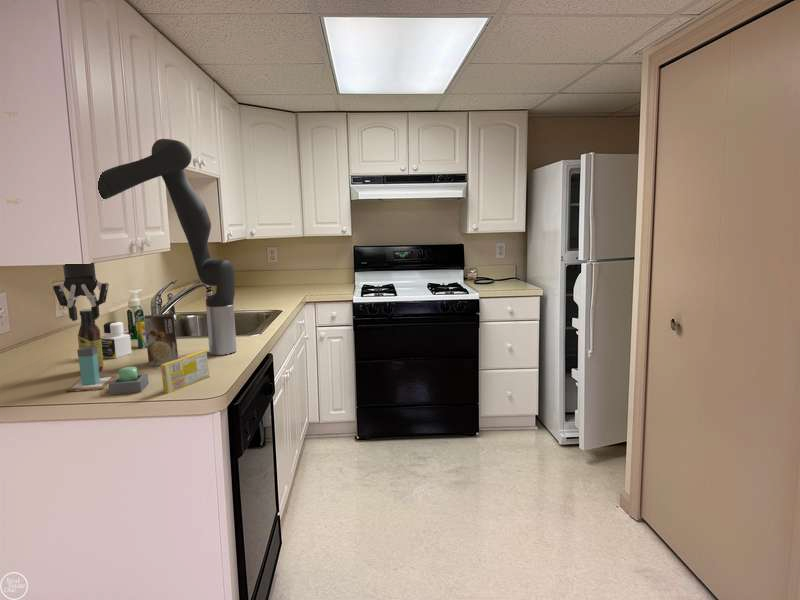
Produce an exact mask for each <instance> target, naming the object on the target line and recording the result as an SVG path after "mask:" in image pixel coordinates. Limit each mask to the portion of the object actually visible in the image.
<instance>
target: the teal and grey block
mask: <svg viewBox="0 0 800 600" xmlns="http://www.w3.org/2000/svg"><path fill="white" fill-rule="evenodd" d="M77 357H78V362H79V363H78V365H79V373H80V379H81V383H82V385H94V384H97V383H98V382H99V381H100V376H101V375H100V371H99V367H98V358H97V346H88V347H81V348H80V349H79V348H77Z"/></svg>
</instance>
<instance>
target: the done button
mask: <svg viewBox="0 0 800 600" xmlns="http://www.w3.org/2000/svg"><path fill="white" fill-rule="evenodd" d="M138 374H139V373H138V368H137V367H136V366H127V367H126V366H125V367H122V368H119V369H118V376H119V380H120V382H127V381H137V380H138Z"/></svg>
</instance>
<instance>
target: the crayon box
mask: <svg viewBox="0 0 800 600" xmlns="http://www.w3.org/2000/svg"><path fill="white" fill-rule="evenodd" d="M145 316H146V315H143V316H139V317H137V316H136V317H135V324H136V335H137V348H139V349H147V342H146V332H145V323H144V317H145Z"/></svg>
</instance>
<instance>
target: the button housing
mask: <svg viewBox="0 0 800 600" xmlns="http://www.w3.org/2000/svg"><path fill="white" fill-rule="evenodd" d="M137 374H138V380H137V381H127V382H120V380H119V375H117V376H116V378H115V379H114V380H112V381H111V382H110V383H109V385H108V392H109V395H110V394H111V395H121V394H120V393H124V394H136V393H135V392H137V393H142V392H143V391H144V390H145V388H146V387H147V386H148V385H149V384H150V383H149V374H148V373H137ZM142 390H143V391H142Z"/></svg>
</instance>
